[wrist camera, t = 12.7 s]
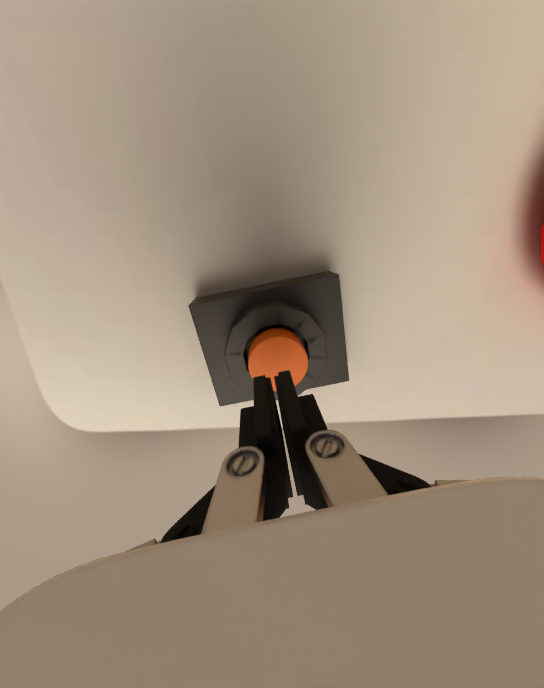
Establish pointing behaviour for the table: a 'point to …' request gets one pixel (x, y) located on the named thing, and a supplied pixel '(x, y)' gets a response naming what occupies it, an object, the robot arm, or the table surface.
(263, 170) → the table surface
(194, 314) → the control block
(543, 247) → the flat cone with hole
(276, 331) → the button
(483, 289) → the table surface
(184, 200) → the table surface
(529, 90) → the table surface
